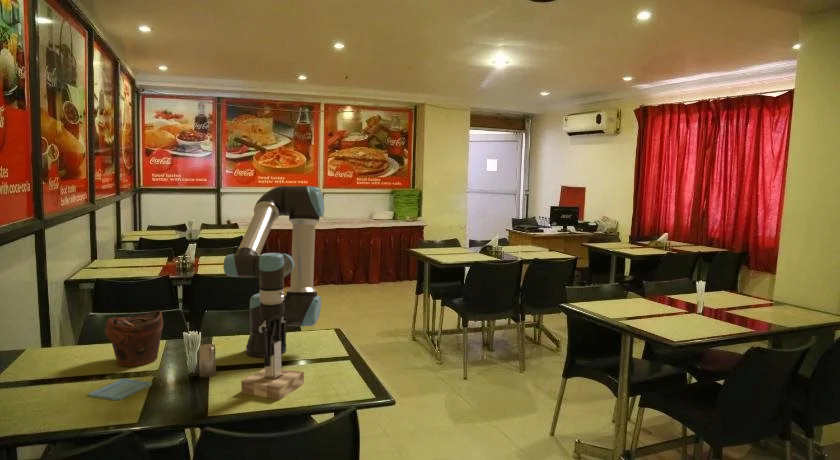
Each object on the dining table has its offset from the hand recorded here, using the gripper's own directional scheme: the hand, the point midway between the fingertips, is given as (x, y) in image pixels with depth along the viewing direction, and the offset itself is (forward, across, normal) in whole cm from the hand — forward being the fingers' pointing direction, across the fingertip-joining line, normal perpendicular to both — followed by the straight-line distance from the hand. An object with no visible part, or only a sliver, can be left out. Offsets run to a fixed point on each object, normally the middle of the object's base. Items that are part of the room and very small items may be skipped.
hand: (273, 372), depth 178 cm
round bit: (+5, +2, +28) cm, 29 cm away
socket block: (+5, 0, 0) cm, 5 cm away
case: (+5, +3, +61) cm, 61 cm away
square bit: (+2, 0, 0) cm, 2 cm away
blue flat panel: (+6, -19, +44) cm, 48 cm away
